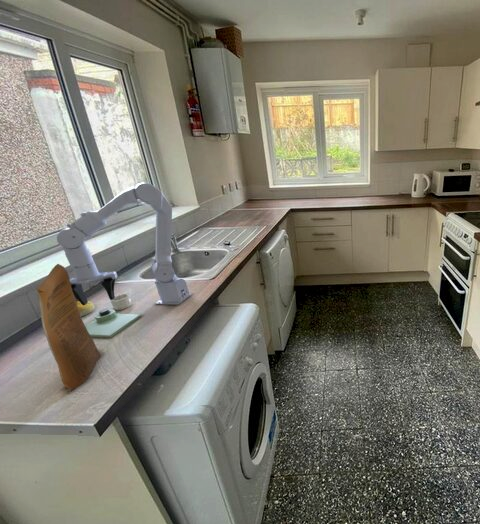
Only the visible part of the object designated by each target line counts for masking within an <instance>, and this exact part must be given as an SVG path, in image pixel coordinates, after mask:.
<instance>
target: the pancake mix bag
mask: <svg viewBox="0 0 480 524" xmlns="http://www.w3.org/2000/svg"><path fill="white" fill-rule="evenodd" d="M70 279H71V278H70V275H69V274H68V271H67V269H66V268H65V266H63V265H61V264H60V263H56V264H55V265H54V267H53V268H52V269H51V270H50V272H49V273H48V275H47V276H46V278H45V279H44V280H43V281H42V282H41V283H40V284H39V285H38V286H37V287H36V288H35V290H36V292H37V293H36V296H37V299H38V304H39V309H40V319H41V325H42V329H43V332H44V335H45V338H46V341H47V345H48V347H49V349H50V351H51V353H52V356H53V358H54V360H55V363H56V364H57V367H58V372H59V375H60V379H61V381H62V385H63V387H64V389H68V391H69V392H72V391H73V390H75V389H77V388H78V387H80V386H82V385H83V384H84V383H86V382H87V380H89V379H90V377H91V374H92V372H93V371H94V369H95V367H96V365H97V363H98V361H99V359H100V358H101V355H102V354H101V353H100V351H99V349H98V347H97V345H96V343H95V342H94V340H93V337H91V336H90V334H89V332H88V331H87V329H86V327H85V325H86V324H85V323H84V321H83V319H82V317H81V315H80V312H79V310H78V307H77V299H76V298H75V296H74V294H73V291H72V287H71V283H70Z"/></svg>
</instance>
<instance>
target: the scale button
mask: <svg viewBox="0 0 480 524" xmlns="http://www.w3.org/2000/svg"><path fill="white" fill-rule="evenodd" d="M109 309H110V308H103V309H101V310H99V311H98V313H99V314H100V316H105V315H107V314H109V313H110V312H109Z"/></svg>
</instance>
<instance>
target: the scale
mask: <svg viewBox="0 0 480 524" xmlns="http://www.w3.org/2000/svg"><path fill="white" fill-rule="evenodd" d="M108 309H109V312H110V313H109V314H107V315H105V316H100V314H99V312H98V313H96V314H95V315H94V320H92V321H90V322H88V323H87V324H84V325H85V327H86V329H87V331H88V332H89V334H90V336H91V338H112V337H114V336H115V335H117V334H118V333H120V332H121V331H123V330H124V329H126V327H128V326H129V325H131V324H133V323H134V322H135V321H137V320H138V319H139V318H141V317H142V315H141V314H140V313H139V314H138V313H117V311H116V309H114V308H108Z"/></svg>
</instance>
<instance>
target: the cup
mask: <svg viewBox="0 0 480 524" xmlns="http://www.w3.org/2000/svg"><path fill="white" fill-rule="evenodd" d="M114 296H115V298H114V299H113V300H110V299H109V301H110V303H111V305H112V309H114V310H115V311H120V310H124V309H127V308H129V307H130V306H131V305H132V304H133V303H132V300H131V297H130V295H129V293H120V294H117V295H114Z"/></svg>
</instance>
